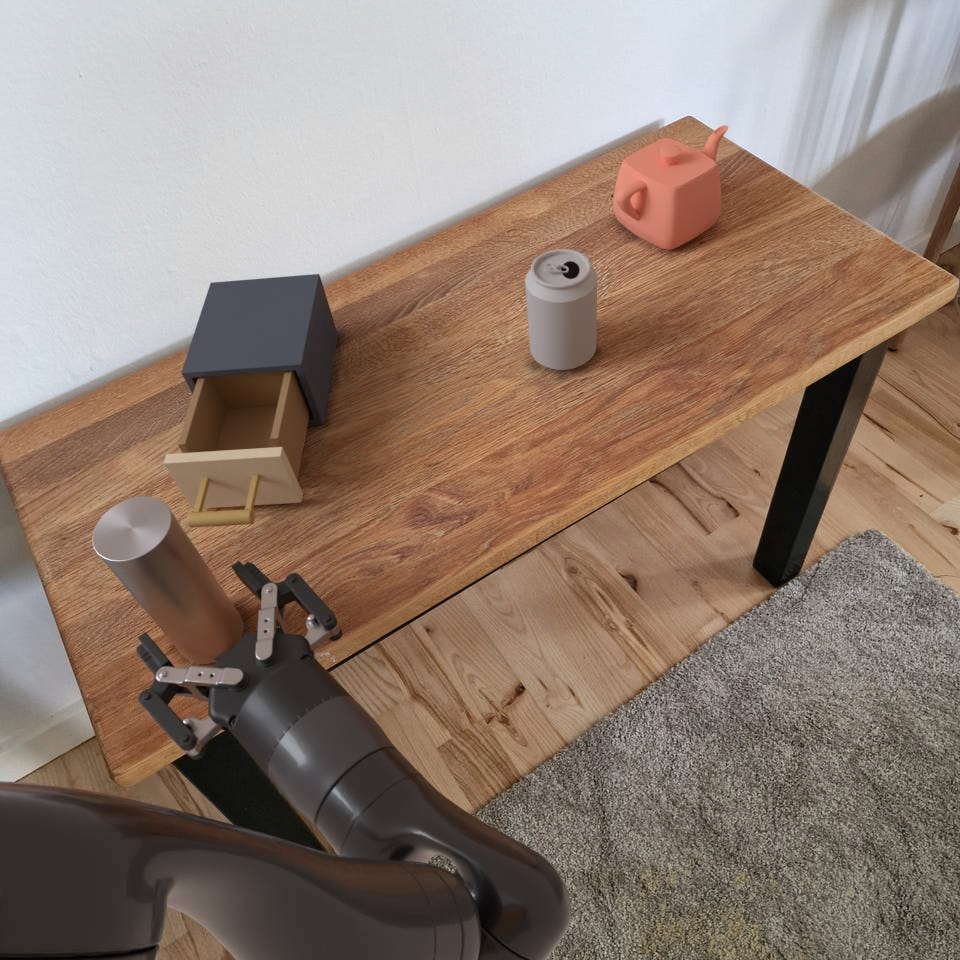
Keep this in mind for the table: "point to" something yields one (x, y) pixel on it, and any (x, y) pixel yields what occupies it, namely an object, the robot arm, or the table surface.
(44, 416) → the table surface
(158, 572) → the cylinder
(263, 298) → the cabinet
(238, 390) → the drawer
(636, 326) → the table surface
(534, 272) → the can
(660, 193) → the teapot
